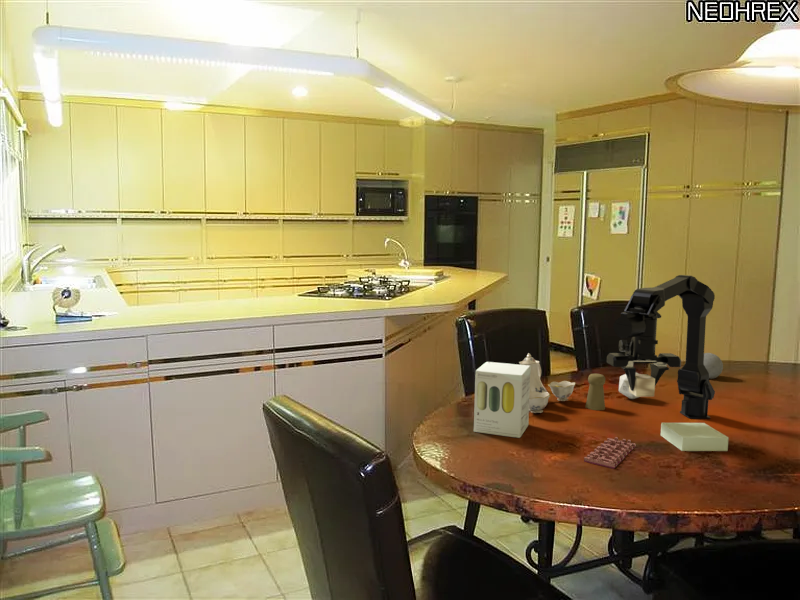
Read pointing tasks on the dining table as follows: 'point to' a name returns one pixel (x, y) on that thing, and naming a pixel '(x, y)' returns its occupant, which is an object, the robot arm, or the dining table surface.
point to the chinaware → (538, 391)
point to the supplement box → (502, 399)
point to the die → (625, 387)
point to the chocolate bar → (610, 452)
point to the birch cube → (643, 386)
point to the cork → (596, 392)
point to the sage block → (694, 437)
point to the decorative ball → (713, 365)
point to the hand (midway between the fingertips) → (641, 390)
